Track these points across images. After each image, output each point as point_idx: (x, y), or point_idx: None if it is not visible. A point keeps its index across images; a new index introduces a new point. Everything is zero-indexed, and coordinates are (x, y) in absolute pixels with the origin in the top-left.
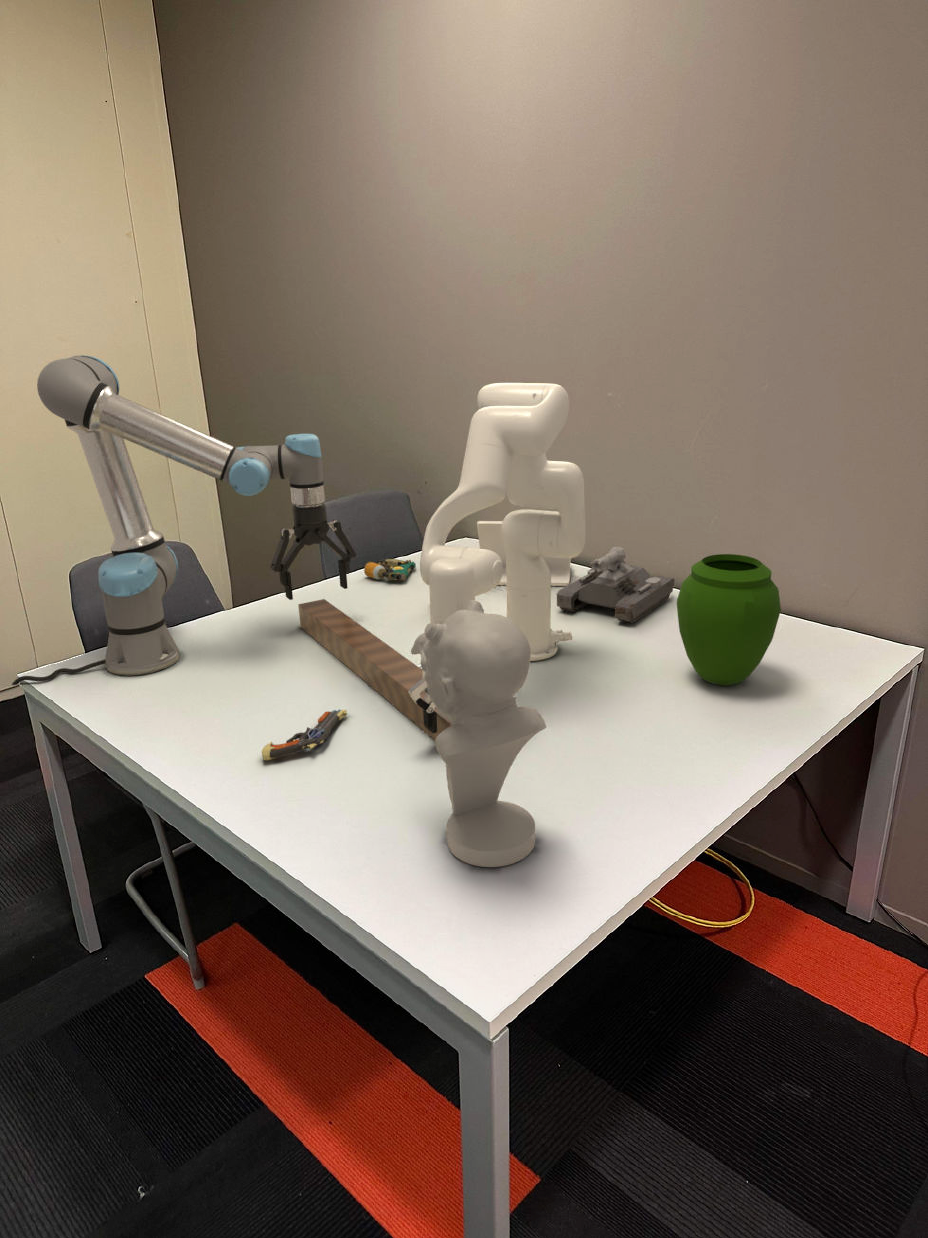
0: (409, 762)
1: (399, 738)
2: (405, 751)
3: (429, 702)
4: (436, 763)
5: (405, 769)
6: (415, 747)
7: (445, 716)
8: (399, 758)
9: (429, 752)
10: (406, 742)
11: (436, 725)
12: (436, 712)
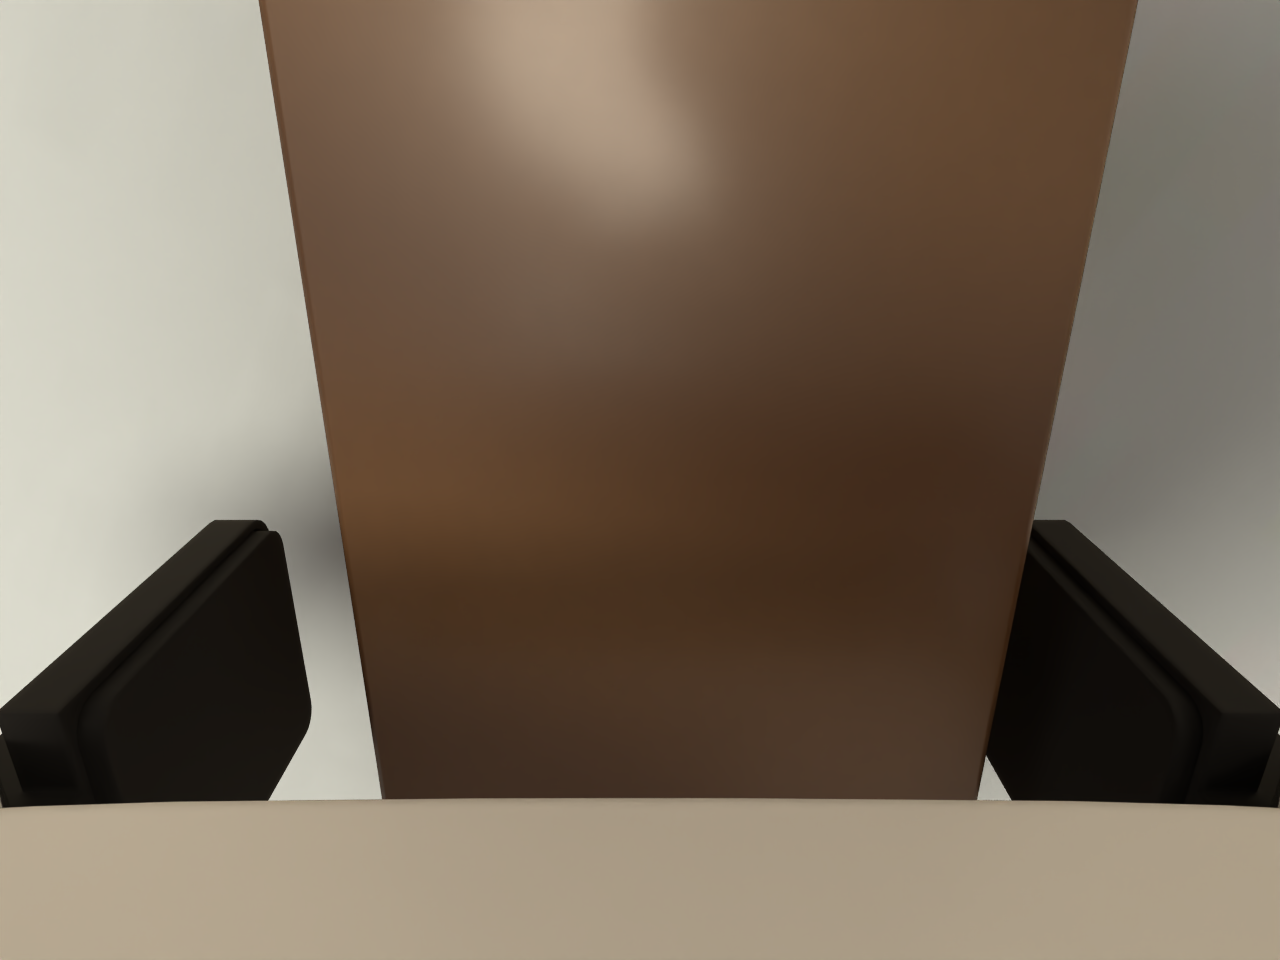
0: (90, 576)
1: (102, 54)
2: (101, 378)
3: (392, 152)
4: (314, 705)
5: (29, 653)
6: (224, 362)
7: (435, 767)
8: (12, 467)
9: (325, 523)
10: (160, 202)
11: (266, 787)
12: (357, 594)
